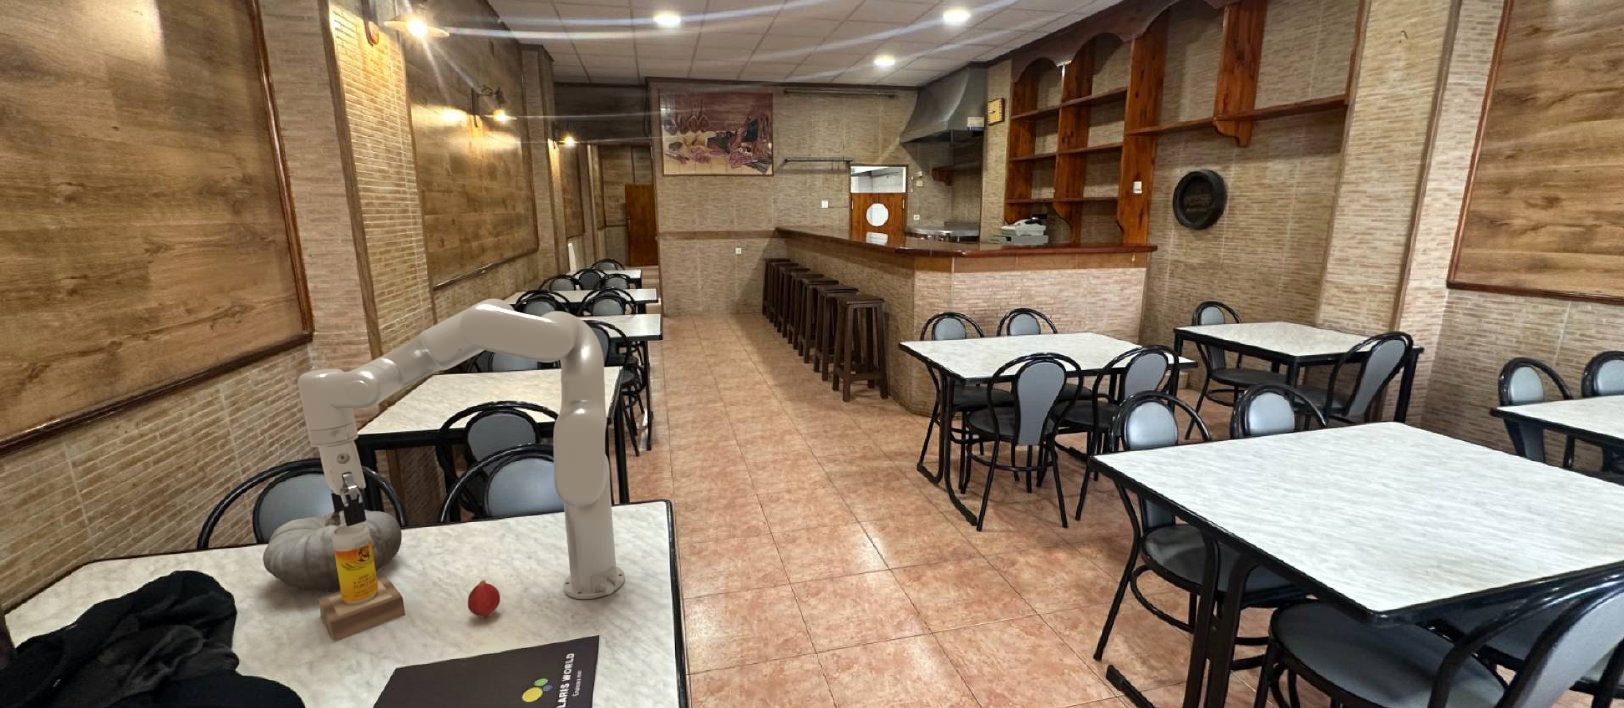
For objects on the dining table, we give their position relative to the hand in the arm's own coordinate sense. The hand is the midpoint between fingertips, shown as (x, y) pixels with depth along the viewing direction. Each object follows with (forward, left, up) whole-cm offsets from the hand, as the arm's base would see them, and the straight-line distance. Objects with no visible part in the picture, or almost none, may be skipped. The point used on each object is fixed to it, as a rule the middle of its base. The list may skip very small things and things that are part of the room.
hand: (350, 516), depth 131 cm
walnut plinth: (0, +1, -22) cm, 22 cm away
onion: (-19, -16, -22) cm, 33 cm away
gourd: (+22, +1, -22) cm, 31 cm away
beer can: (0, 0, -18) cm, 18 cm away
